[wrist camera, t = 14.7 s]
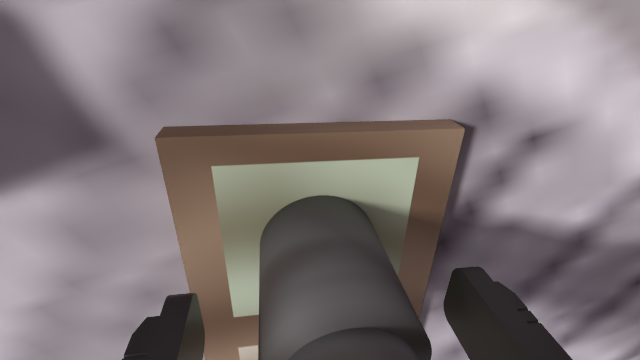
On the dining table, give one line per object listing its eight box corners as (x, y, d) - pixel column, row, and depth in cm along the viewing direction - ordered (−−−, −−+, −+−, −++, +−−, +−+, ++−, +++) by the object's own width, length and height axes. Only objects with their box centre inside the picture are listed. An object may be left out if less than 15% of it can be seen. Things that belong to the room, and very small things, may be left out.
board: (389, 397, 20) (395, 415, 20) (226, 422, 19) (224, 443, 18) (450, 119, 12) (465, 128, 11) (163, 126, 11) (154, 138, 10)
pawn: (368, 281, 14) (459, 522, 7) (263, 291, 13) (263, 565, 7) (379, 191, 12) (520, 418, 5) (255, 199, 11) (245, 467, 5)
